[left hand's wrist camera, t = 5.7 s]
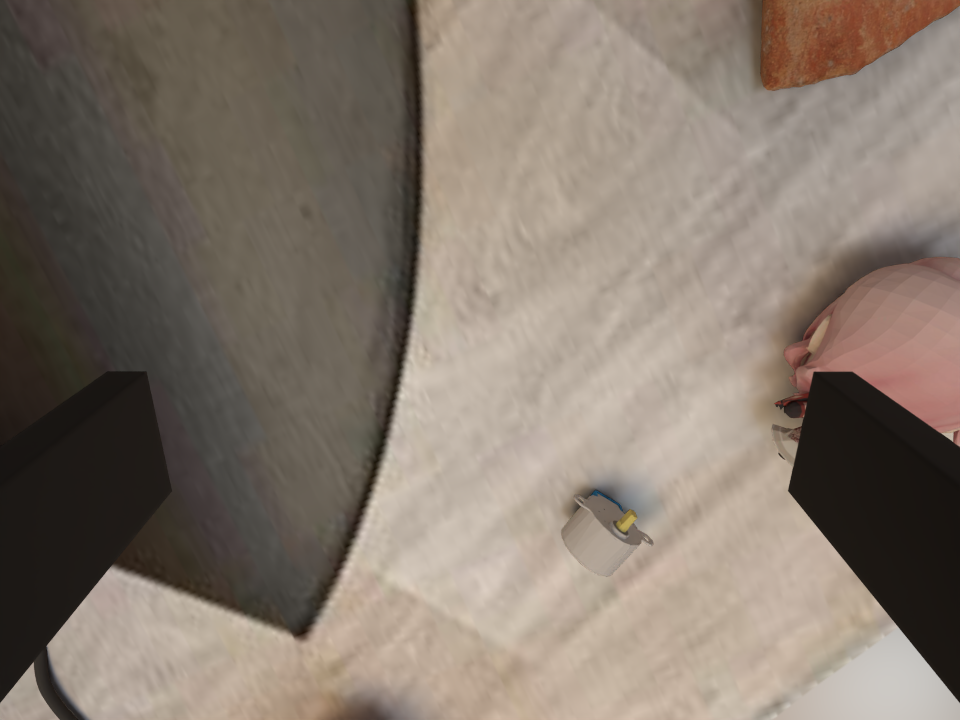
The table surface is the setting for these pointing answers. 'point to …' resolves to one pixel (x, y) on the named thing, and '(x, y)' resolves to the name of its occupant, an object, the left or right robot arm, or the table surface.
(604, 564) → the electric motor
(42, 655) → the right robot arm
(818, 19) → the ceramic shard
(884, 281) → the toy
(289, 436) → the table surface
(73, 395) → the left robot arm
